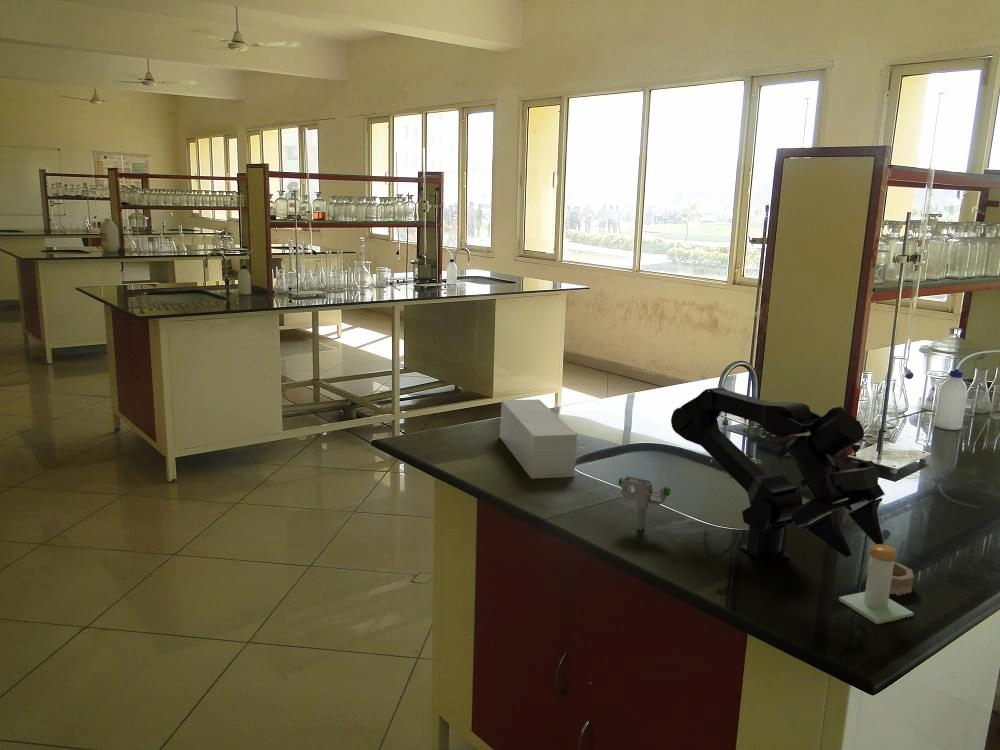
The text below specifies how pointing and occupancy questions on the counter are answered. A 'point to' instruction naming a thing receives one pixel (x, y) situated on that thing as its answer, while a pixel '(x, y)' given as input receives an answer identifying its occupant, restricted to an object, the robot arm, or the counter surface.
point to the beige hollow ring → (898, 579)
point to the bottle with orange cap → (879, 576)
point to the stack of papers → (538, 439)
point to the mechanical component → (642, 495)
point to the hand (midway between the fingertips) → (865, 550)
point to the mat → (872, 614)
